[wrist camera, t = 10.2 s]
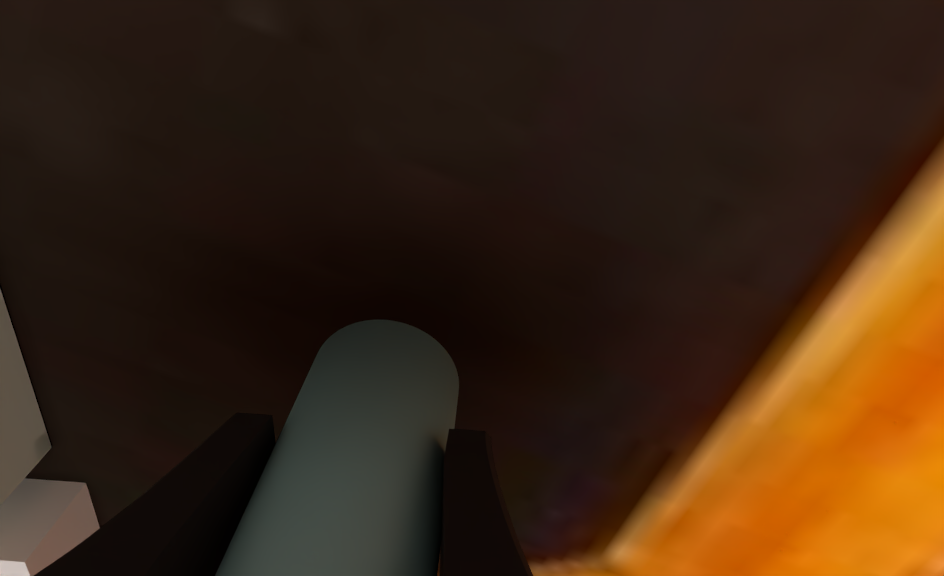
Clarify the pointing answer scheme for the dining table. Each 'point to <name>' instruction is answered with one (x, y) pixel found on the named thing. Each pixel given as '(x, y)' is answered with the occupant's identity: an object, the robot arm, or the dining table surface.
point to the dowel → (356, 463)
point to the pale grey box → (43, 524)
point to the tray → (17, 413)
